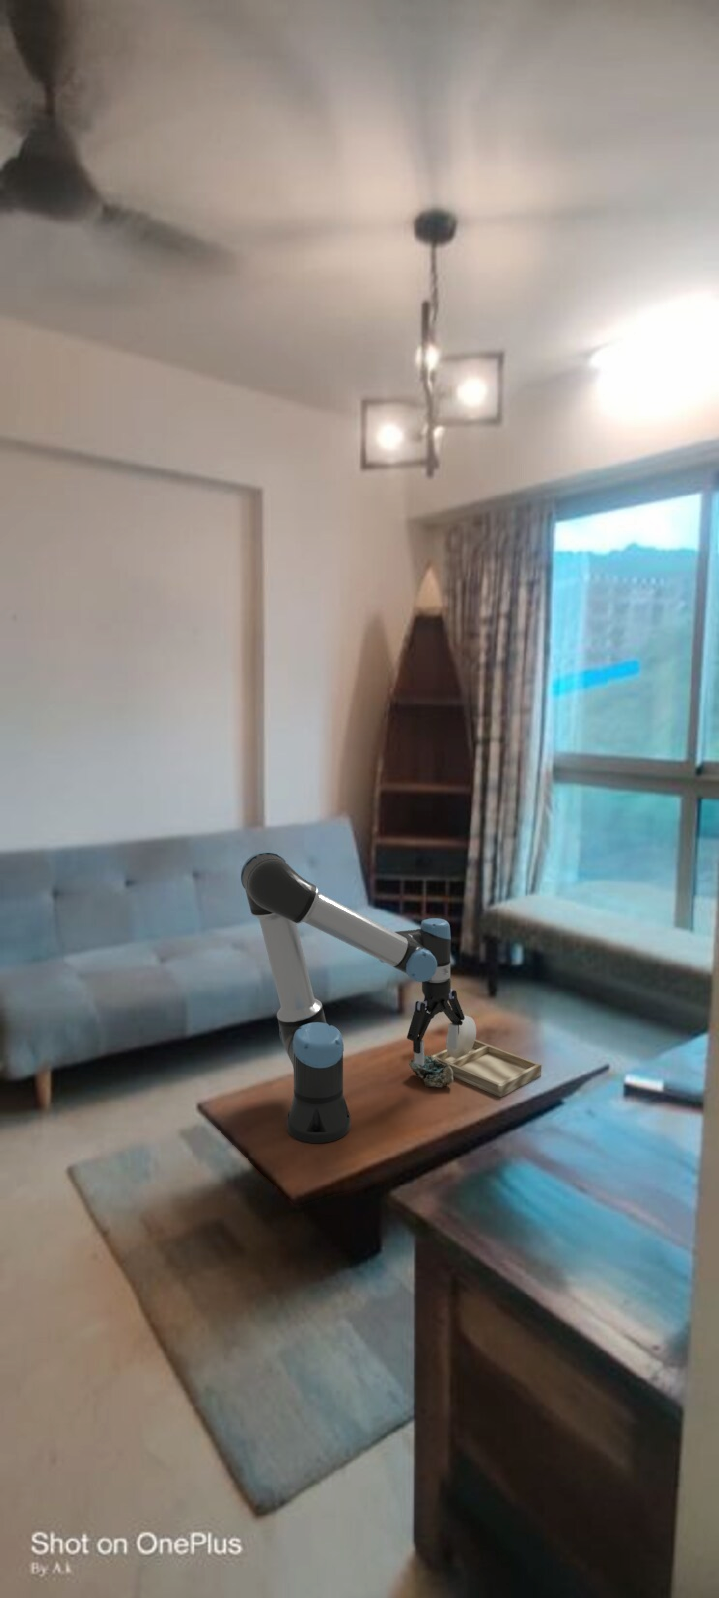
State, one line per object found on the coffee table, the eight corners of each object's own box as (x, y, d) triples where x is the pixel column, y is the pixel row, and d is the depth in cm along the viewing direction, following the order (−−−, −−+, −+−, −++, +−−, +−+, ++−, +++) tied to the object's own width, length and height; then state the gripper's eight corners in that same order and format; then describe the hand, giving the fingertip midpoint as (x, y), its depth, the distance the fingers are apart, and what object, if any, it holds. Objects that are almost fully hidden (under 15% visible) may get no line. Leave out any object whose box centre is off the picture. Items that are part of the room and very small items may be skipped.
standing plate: (448, 1064, 218) (449, 1022, 217) (445, 1063, 219) (446, 1021, 217) (475, 1051, 226) (476, 1011, 225) (473, 1050, 227) (473, 1010, 226)
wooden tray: (500, 1097, 202) (501, 1086, 201) (430, 1066, 219) (430, 1056, 219) (541, 1075, 214) (541, 1064, 213) (471, 1047, 231) (471, 1037, 231)
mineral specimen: (404, 1073, 213) (408, 1051, 210) (430, 1062, 218) (435, 1040, 215) (432, 1105, 205) (437, 1083, 201) (459, 1093, 209) (464, 1070, 206)
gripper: (414, 994, 195) (415, 1075, 198) (477, 969, 212) (477, 1045, 215) (392, 986, 201) (393, 1066, 203) (455, 963, 218) (456, 1037, 220)
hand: (436, 1055), depth 209 cm, fingers open, 13 cm apart
